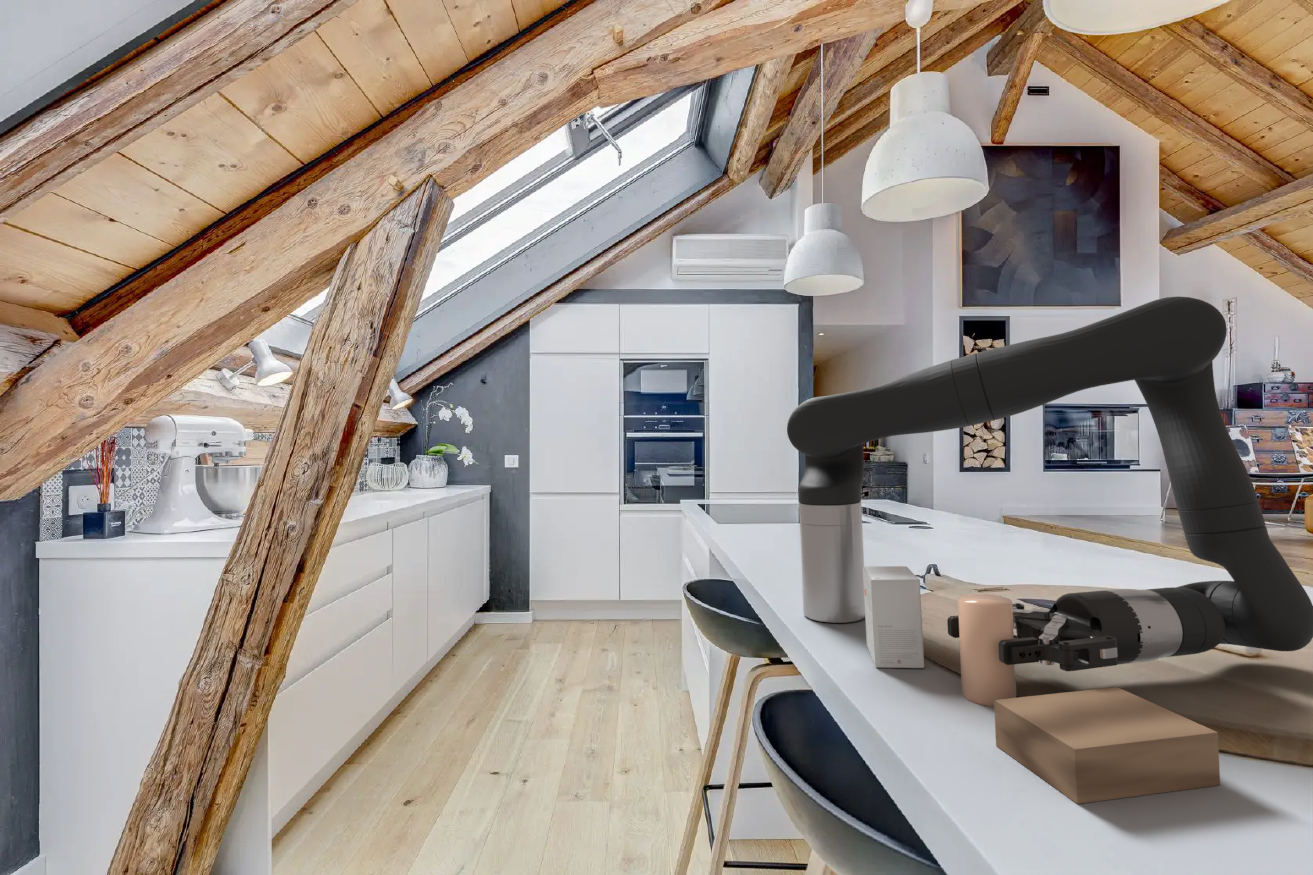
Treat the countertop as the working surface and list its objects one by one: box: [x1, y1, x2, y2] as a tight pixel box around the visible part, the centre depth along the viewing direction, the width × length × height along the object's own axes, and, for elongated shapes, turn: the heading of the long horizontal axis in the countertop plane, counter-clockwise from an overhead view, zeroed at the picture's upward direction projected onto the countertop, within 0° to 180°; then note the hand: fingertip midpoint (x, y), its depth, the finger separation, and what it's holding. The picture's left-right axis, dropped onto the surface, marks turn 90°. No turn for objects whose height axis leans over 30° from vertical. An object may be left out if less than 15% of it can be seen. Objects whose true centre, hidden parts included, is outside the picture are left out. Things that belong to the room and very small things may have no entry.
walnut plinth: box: [993, 686, 1221, 805], centre depth 52 cm, size 9×12×4 cm
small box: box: [863, 565, 925, 669], centre depth 78 cm, size 8×6×10 cm
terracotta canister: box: [957, 593, 1017, 707], centre depth 66 cm, size 5×5×10 cm
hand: (973, 639), depth 66 cm, fingers open, 8 cm apart
